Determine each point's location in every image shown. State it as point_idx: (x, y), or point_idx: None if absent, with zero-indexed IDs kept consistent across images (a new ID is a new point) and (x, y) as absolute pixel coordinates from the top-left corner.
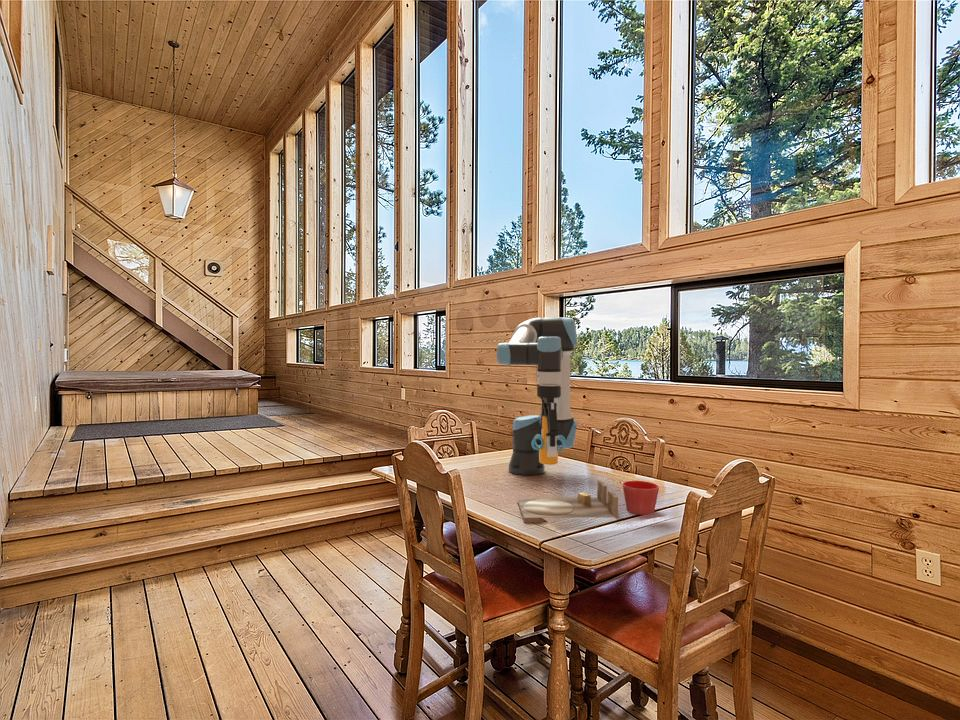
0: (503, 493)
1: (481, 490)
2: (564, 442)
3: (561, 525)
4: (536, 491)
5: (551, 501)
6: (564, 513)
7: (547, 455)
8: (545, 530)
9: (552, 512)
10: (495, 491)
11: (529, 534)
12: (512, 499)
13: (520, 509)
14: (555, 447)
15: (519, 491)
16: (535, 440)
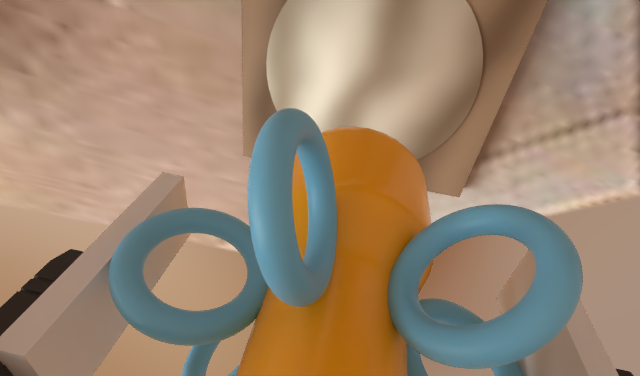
0: (145, 158)
1: (123, 208)
2: (303, 135)
3: (543, 77)
4: (95, 31)
5: (301, 41)
6: (482, 42)
7: (506, 307)
8: (560, 150)
9: (448, 89)
10: (126, 175)
11: (566, 204)
12: (211, 151)
13: None
14: (587, 338)
15: (110, 100)
16: (209, 352)
